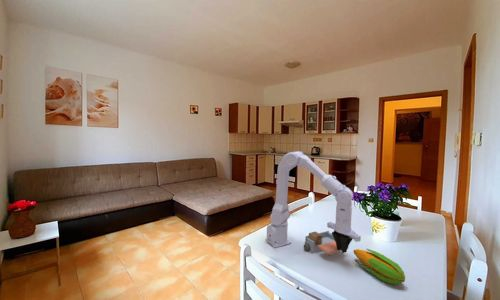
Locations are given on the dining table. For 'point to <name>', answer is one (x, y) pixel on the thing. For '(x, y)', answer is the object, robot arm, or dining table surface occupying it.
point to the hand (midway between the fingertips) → (341, 250)
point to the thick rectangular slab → (329, 247)
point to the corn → (380, 266)
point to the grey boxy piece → (313, 249)
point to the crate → (316, 237)
